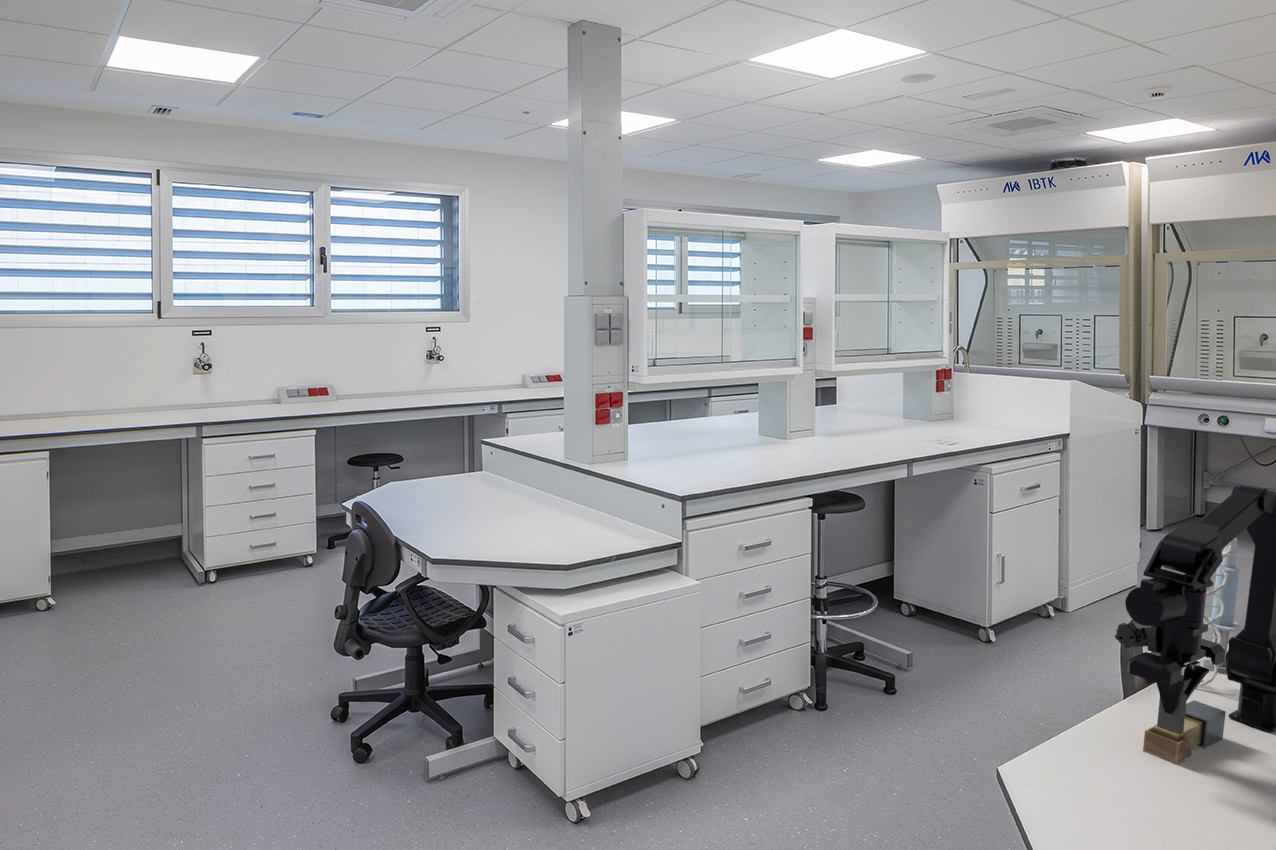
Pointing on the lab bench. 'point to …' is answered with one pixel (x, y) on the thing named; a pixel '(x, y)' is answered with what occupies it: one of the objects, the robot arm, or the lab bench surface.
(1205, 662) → the pale blue cylinder
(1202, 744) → the grey end cap
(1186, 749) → the socket
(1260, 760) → the lab bench surface
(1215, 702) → the lab bench surface
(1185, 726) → the grey and tan block
